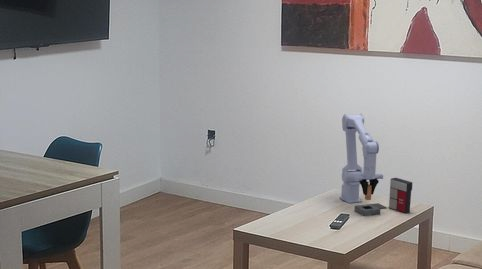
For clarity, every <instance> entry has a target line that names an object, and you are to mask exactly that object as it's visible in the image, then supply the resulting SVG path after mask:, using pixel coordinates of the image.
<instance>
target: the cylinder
mask: <svg viewBox="0 0 482 269" xmlns="http://www.w3.org/2000/svg"><path fill="white" fill-rule="evenodd" d="M371 191H372V185H370V183H369V184H368V187H367V195H364V200H366V201H371V200H372V194H371Z"/></svg>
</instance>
